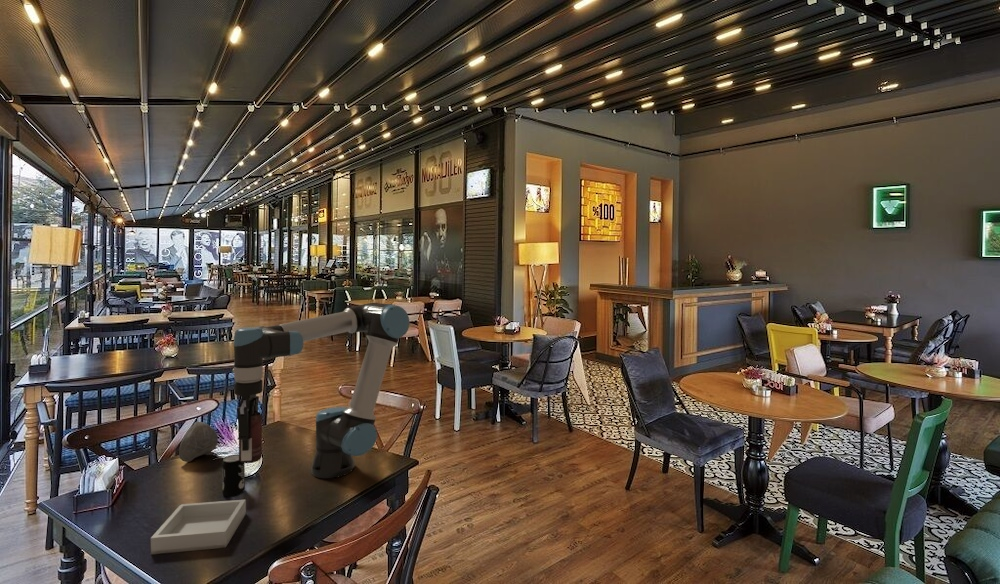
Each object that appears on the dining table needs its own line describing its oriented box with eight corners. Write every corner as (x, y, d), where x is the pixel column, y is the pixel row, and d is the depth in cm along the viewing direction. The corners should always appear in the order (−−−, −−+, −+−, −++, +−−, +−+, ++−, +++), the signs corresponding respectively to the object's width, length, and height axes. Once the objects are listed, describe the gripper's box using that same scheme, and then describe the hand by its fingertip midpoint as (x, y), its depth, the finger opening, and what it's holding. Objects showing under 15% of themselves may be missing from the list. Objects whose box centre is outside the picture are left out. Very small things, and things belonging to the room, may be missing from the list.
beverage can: (235, 498, 159) (234, 462, 159) (217, 496, 161) (217, 460, 160) (249, 489, 166) (248, 454, 165) (232, 487, 167) (231, 453, 166)
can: (234, 463, 144) (234, 417, 143) (245, 455, 150) (245, 410, 149) (255, 464, 144) (255, 417, 143) (265, 455, 150) (265, 411, 149)
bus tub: (246, 513, 150) (245, 499, 150) (225, 547, 133) (225, 531, 132) (181, 518, 147) (180, 504, 146) (151, 554, 129) (150, 538, 129)
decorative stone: (206, 449, 199) (205, 413, 198) (226, 453, 196) (225, 416, 195) (171, 464, 184) (170, 425, 183) (192, 468, 181) (191, 428, 180)
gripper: (243, 374, 152) (243, 448, 153) (225, 387, 136) (225, 469, 137) (269, 373, 153) (268, 446, 155) (254, 386, 137) (254, 468, 139)
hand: (248, 457), depth 146 cm, fingers open, 3 cm apart
